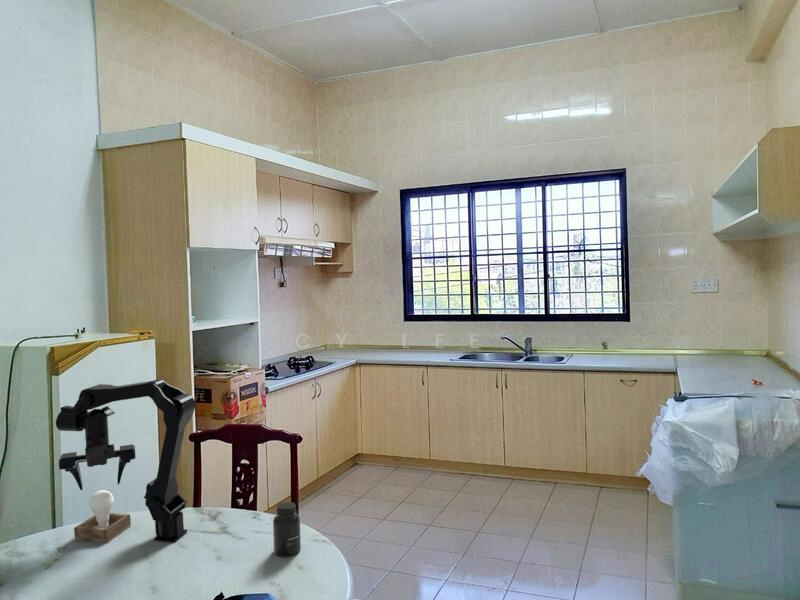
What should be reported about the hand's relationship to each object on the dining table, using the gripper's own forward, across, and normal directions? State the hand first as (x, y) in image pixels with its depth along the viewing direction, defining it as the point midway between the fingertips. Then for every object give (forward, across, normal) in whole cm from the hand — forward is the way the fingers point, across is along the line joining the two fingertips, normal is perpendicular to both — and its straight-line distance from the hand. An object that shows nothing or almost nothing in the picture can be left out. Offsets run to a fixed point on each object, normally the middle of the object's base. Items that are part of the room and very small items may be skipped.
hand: (100, 486), depth 172 cm
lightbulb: (+12, 0, -1) cm, 12 cm away
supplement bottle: (+13, +44, -34) cm, 57 cm away
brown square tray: (+13, 0, 0) cm, 13 cm away
